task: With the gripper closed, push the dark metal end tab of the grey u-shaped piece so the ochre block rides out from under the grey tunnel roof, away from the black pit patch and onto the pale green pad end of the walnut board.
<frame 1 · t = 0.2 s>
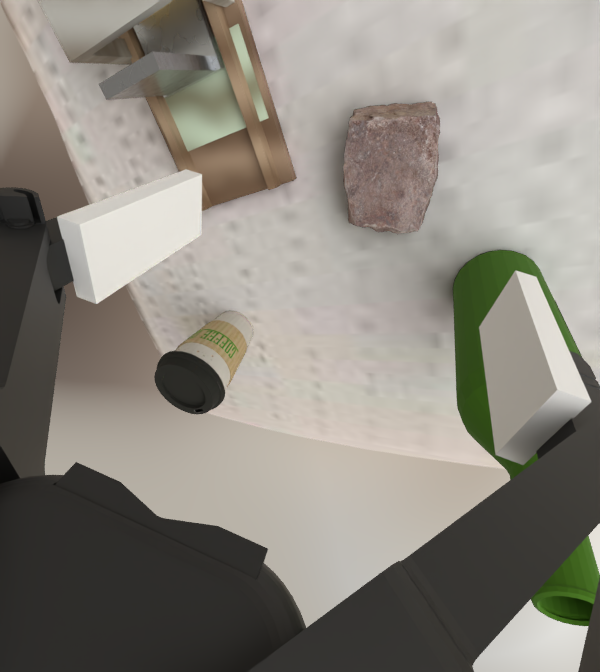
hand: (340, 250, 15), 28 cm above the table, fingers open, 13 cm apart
coffee cup: (236, 326, 58), on the table
wine bottle: (495, 284, 41), on the table
stone: (393, 167, 38), on the table
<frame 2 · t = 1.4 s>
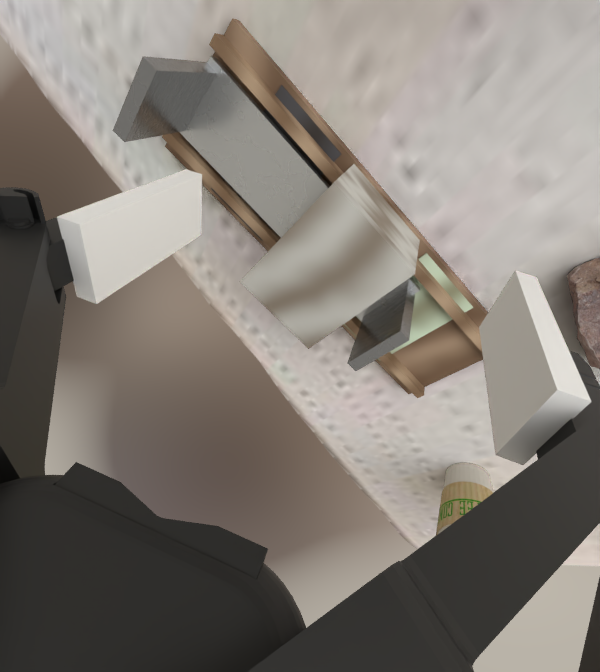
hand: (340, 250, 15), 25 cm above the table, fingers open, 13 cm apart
coffee cup: (467, 475, 55), on the table
tunnel board: (341, 242, 41), on the table
grey u-shaped piece: (285, 221, 34), point 7 cm above the table, slide at 0.0 cm
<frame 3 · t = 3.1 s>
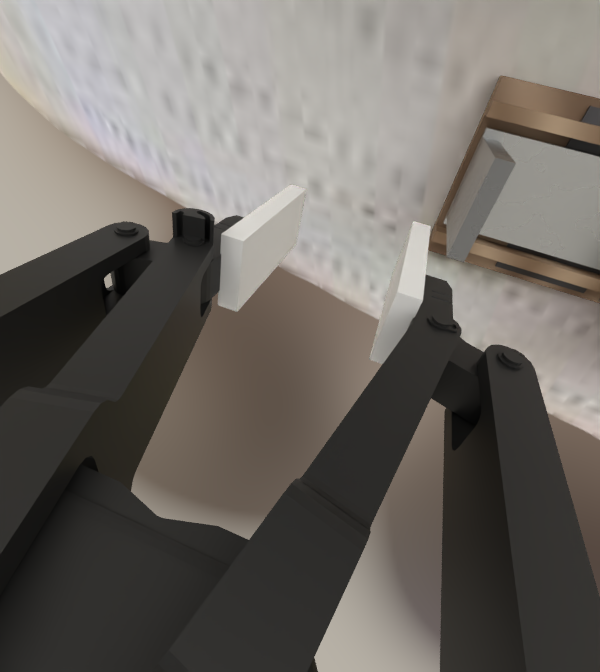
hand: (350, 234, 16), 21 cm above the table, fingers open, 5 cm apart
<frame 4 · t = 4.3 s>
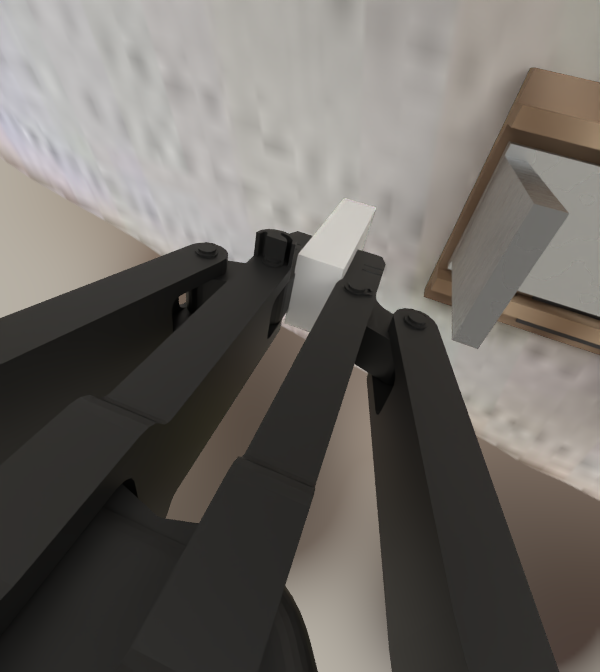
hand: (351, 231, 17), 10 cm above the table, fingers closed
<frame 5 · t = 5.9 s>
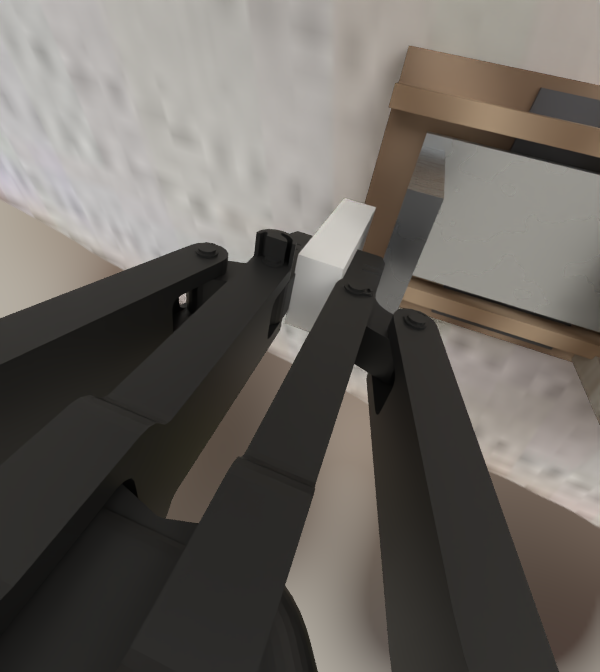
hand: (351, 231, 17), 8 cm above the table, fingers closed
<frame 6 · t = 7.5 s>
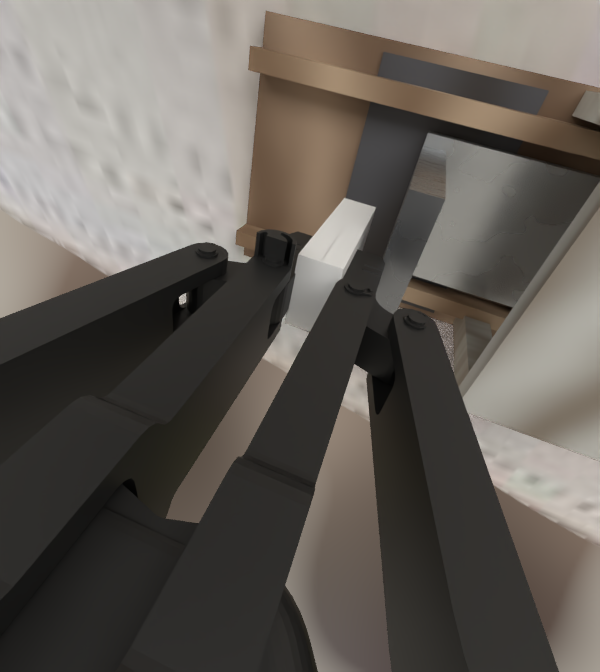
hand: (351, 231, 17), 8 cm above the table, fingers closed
tunnel board: (589, 248, 21), on the table
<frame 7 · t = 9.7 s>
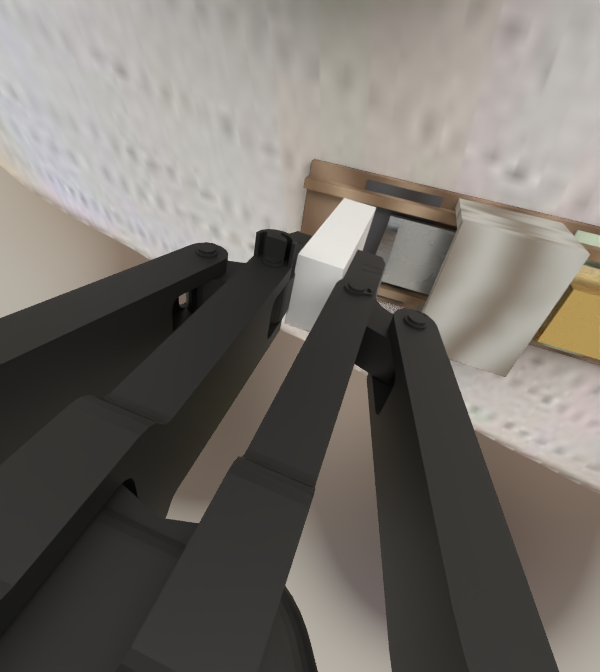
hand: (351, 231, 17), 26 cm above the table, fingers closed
tunnel board: (478, 266, 41), on the table
grey u-shaped piece: (522, 303, 35), point 7 cm above the table, slide at 9.5 cm
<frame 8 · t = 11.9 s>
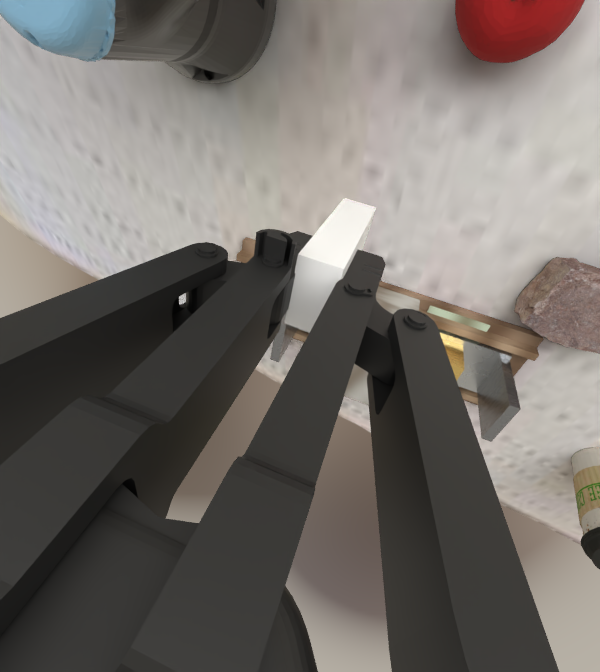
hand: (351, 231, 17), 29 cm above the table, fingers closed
coffee cup: (595, 459, 55), on the table
tunnel board: (370, 322, 54), on the table
grey u-shaped piece: (389, 357, 48), point 7 cm above the table, slide at 9.5 cm
stone: (575, 296, 43), on the table
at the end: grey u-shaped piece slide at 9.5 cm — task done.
